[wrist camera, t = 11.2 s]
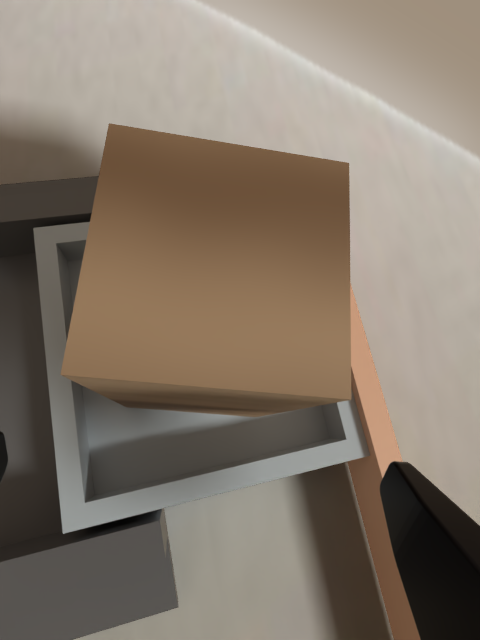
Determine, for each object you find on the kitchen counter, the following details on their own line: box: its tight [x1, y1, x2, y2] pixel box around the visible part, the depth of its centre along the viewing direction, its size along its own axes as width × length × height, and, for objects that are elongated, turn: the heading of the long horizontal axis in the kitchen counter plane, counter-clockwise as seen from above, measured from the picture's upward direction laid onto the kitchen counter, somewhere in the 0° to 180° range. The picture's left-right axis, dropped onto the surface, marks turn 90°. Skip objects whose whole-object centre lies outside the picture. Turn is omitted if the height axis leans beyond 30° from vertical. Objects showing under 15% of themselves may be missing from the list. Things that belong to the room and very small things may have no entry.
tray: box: [33, 222, 421, 640], centre depth 16 cm, size 23×13×3 cm, turn 12°
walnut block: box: [60, 124, 351, 417], centre depth 13 cm, size 6×6×10 cm
